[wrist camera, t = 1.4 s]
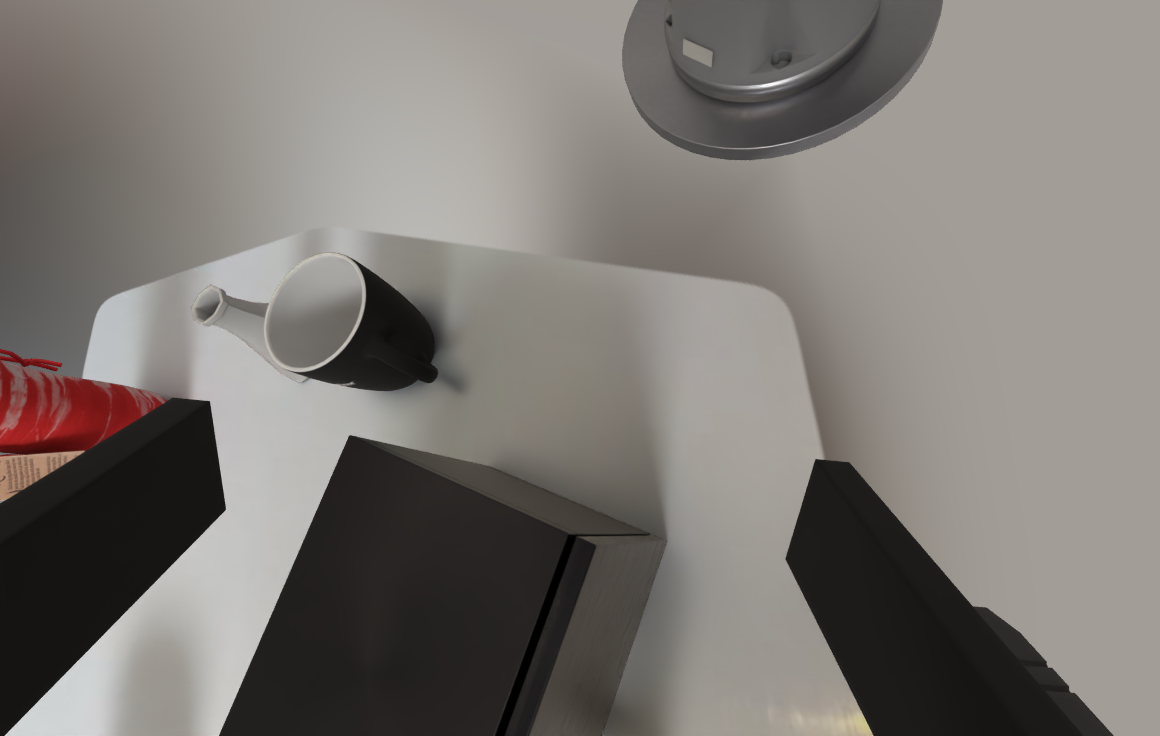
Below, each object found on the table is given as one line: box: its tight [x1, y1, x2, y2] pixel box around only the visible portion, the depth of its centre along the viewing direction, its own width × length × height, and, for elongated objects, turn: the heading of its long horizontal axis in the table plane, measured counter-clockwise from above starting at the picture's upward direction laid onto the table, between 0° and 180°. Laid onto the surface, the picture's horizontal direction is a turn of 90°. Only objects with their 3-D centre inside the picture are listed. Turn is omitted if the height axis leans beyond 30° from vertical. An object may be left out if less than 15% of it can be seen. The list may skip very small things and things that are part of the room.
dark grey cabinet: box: [219, 435, 649, 736], centre depth 31 cm, size 13×18×15 cm
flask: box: [191, 285, 308, 383], centre depth 47 cm, size 7×7×10 cm
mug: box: [264, 252, 438, 391], centre depth 43 cm, size 12×9×10 cm
